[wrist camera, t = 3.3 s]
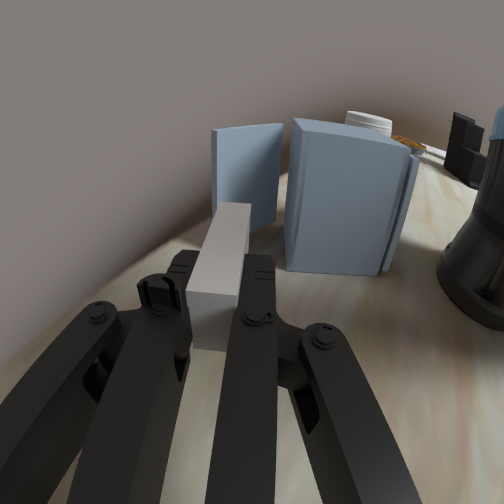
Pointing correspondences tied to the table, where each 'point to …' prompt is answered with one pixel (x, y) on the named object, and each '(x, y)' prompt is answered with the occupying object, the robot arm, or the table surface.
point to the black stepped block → (465, 151)
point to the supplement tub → (369, 122)
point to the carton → (345, 198)
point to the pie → (410, 145)
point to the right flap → (247, 169)
